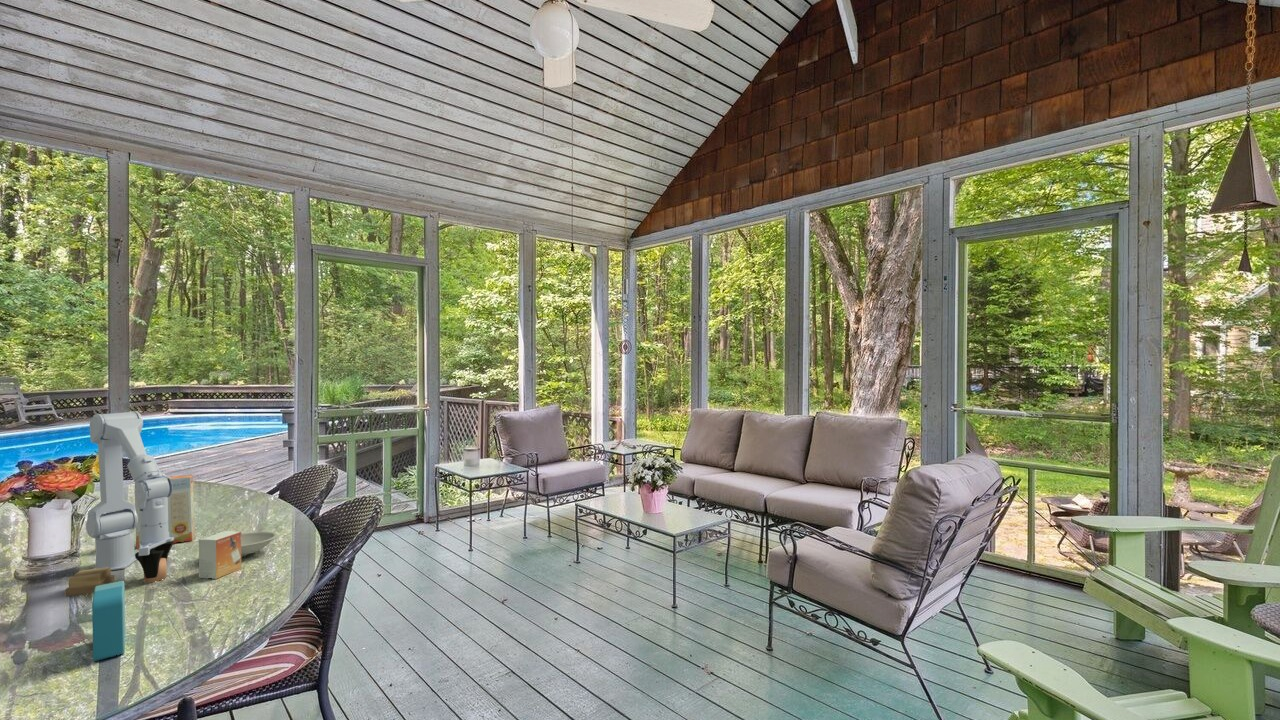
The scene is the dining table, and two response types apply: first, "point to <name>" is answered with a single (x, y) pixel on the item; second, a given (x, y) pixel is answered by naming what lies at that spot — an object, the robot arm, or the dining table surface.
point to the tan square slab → (87, 588)
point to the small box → (219, 554)
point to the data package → (108, 620)
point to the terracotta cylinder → (161, 572)
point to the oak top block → (89, 577)
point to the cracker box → (177, 510)
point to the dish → (255, 541)
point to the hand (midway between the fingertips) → (155, 574)
